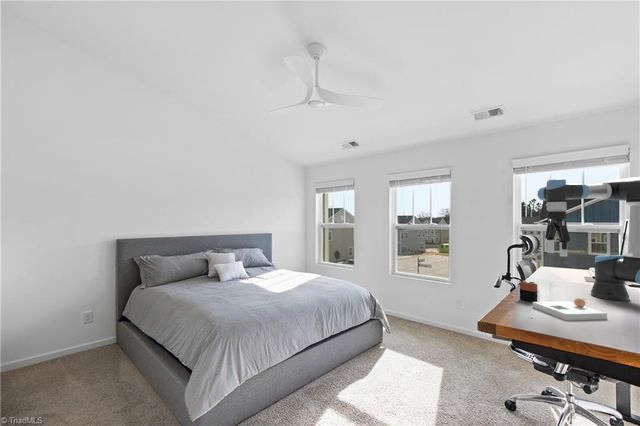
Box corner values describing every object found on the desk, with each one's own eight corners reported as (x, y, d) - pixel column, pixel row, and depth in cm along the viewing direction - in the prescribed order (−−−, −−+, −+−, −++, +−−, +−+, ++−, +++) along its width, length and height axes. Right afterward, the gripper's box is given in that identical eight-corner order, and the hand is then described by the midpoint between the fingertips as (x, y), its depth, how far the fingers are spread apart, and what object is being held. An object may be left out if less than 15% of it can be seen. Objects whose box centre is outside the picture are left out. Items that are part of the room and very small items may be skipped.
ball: (579, 305, 139) (579, 297, 139) (587, 308, 135) (587, 299, 135) (571, 305, 138) (571, 297, 138) (579, 308, 134) (579, 299, 134)
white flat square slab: (568, 306, 146) (568, 301, 146) (607, 319, 128) (607, 313, 128) (532, 307, 144) (532, 302, 144) (566, 320, 126) (566, 314, 126)
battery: (534, 302, 152) (534, 283, 152) (519, 299, 157) (519, 280, 157) (537, 301, 154) (537, 282, 154) (522, 298, 160) (522, 279, 160)
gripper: (537, 211, 157) (537, 251, 157) (559, 210, 133) (559, 257, 133) (554, 211, 155) (554, 251, 155) (579, 210, 131) (579, 258, 131)
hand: (556, 254), depth 144 cm, fingers open, 13 cm apart
